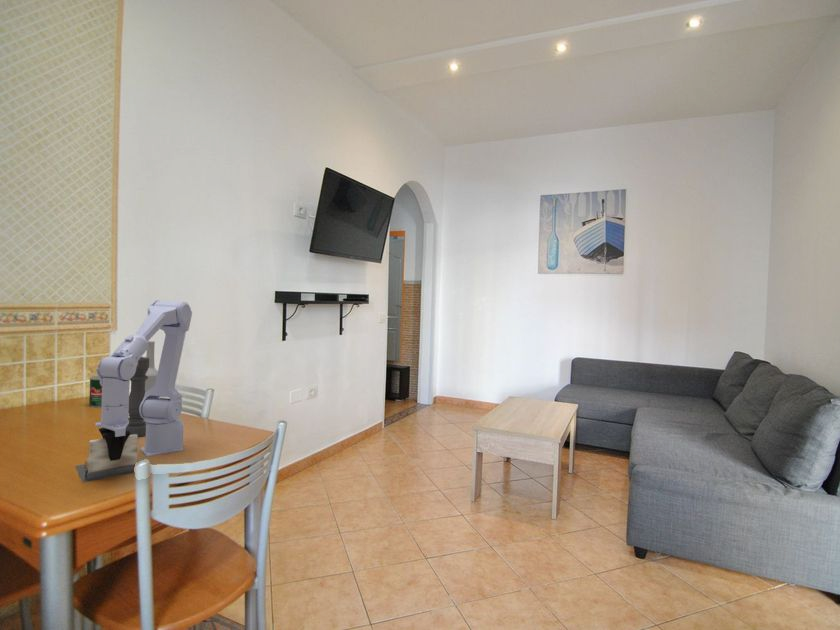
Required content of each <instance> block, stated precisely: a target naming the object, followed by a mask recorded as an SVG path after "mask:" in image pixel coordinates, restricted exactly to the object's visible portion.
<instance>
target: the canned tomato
mask: <svg viewBox="0 0 840 630" xmlns="http://www.w3.org/2000/svg"><path fill="white" fill-rule="evenodd" d="M88 406H89V407H91V408H102V386H101V384H100V379H99V377H98V375H97V376H92V377H90V378H89V403H88Z"/></svg>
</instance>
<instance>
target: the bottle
mask: <svg viewBox="0 0 840 630" xmlns="http://www.w3.org/2000/svg"><path fill="white" fill-rule="evenodd" d="M147 343H148V349H147V350H146V355H145V357H148V358H149V368H148V371H147V373H146V376H148V379H146V381H145V392H147V391H148V390H150V389H151V388H153V387H154V386H155V382H156V377H157V373H158V369H157V368H156V366H155V343H156V341H153V340H152V341H151V340H149V341H148V342H147ZM157 398H160V397H157Z"/></svg>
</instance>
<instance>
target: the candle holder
mask: <svg viewBox="0 0 840 630" xmlns="http://www.w3.org/2000/svg"><path fill="white" fill-rule="evenodd" d="M148 368H149V358H148V357H146V356H142V357H141V358H140V359H139V360H138V365H137V367H136V372H135V374H134V376H133V377H132V378H131V379H130V391H129V413H128V420H129V424H128V425H127V427H126V431H130V435H133V434H137V435H138V439H139V438H143V437H144V438H146V422H144V418H142V417H141V416H140V413H139V407H140V404H141V402H142V401H143V398H144V395H145V393H146V392H145V381H146V379H148V376H146V373H147V371H148Z"/></svg>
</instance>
